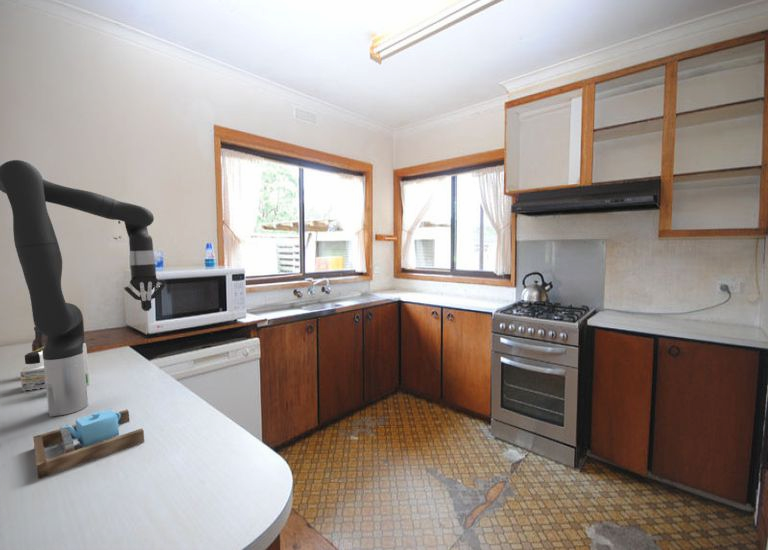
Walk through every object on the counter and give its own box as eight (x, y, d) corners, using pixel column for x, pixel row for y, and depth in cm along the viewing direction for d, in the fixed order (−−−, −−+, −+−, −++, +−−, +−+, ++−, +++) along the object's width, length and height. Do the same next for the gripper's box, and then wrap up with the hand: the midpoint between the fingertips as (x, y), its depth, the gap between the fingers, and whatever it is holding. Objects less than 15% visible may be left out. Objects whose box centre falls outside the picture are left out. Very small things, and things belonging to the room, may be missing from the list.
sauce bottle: (41, 377, 142) (36, 328, 140) (29, 376, 143) (24, 328, 141) (59, 371, 148) (54, 324, 146) (47, 371, 149) (42, 324, 148)
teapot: (66, 458, 85) (63, 427, 84) (60, 450, 89) (57, 420, 88) (126, 436, 94) (123, 408, 94) (118, 429, 98) (115, 403, 98)
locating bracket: (38, 478, 77) (36, 465, 77) (34, 448, 90) (33, 436, 89) (144, 441, 91) (143, 430, 91) (128, 419, 104) (127, 409, 103)
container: (21, 392, 127) (17, 356, 126) (30, 384, 134) (27, 351, 133) (50, 387, 131) (46, 352, 130) (57, 380, 137) (54, 347, 136)
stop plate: (66, 462, 82) (65, 446, 82) (61, 442, 91) (59, 427, 91) (75, 459, 84) (73, 443, 83) (69, 440, 92) (67, 425, 92)
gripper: (160, 262, 137) (164, 307, 138) (118, 264, 127) (122, 312, 129) (166, 262, 132) (170, 309, 133) (122, 264, 122) (127, 314, 124)
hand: (146, 310), depth 131 cm, fingers closed
